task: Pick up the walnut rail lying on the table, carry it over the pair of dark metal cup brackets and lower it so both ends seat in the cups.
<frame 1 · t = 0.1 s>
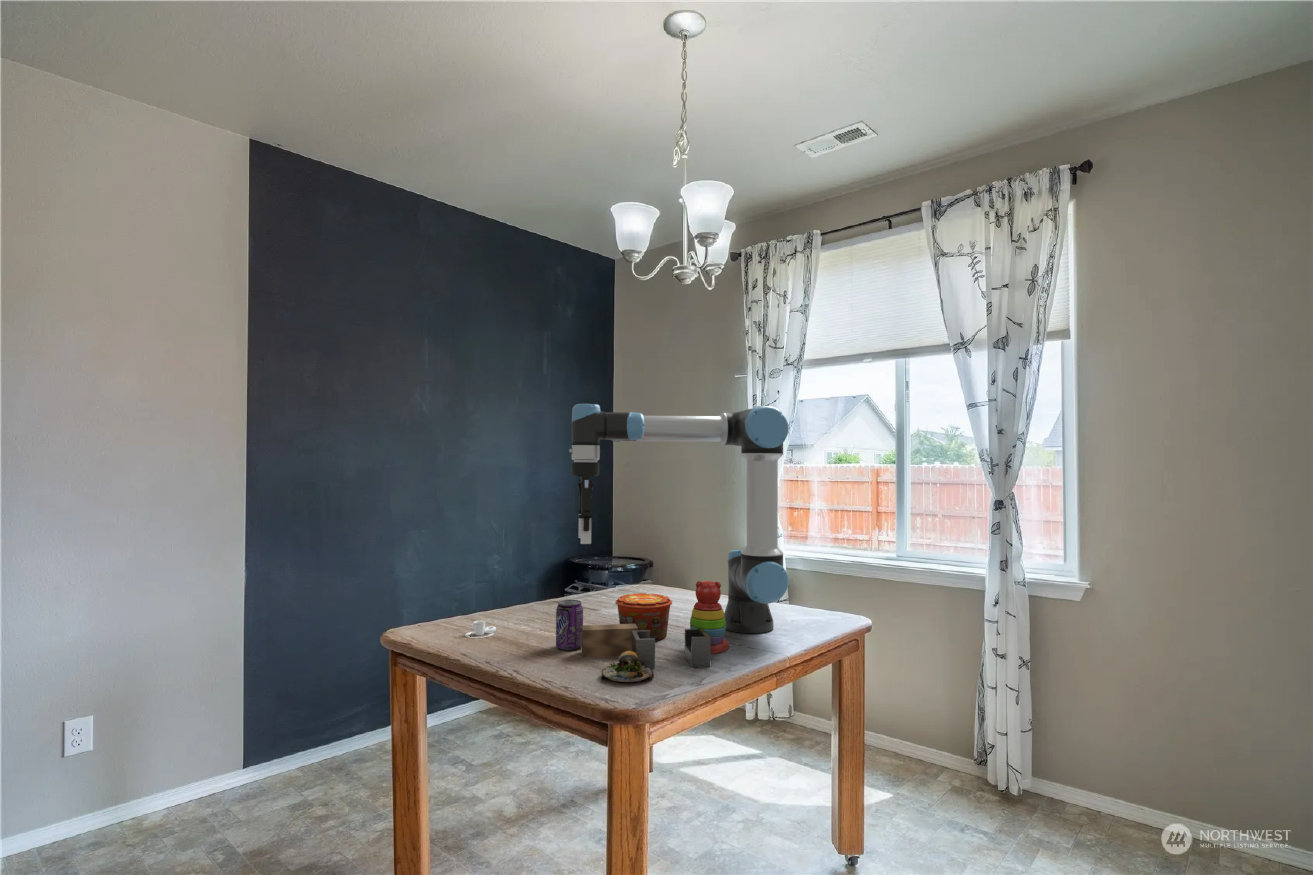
hand: (584, 540, 185), 28 cm above the table, tool pointing down, fingers open, 13 cm apart
cup bracket 1: (644, 663, 168), on the table
burger: (627, 679, 157), on the table
walnut rail: (609, 654, 176), on the table
beverage can: (569, 648, 182), on the table
stacking bear: (707, 649, 181), on the table
food container: (643, 637, 194), on the table
cup bracket 2: (695, 661, 170), on the table
teacup and saucer: (489, 637, 194), on the table
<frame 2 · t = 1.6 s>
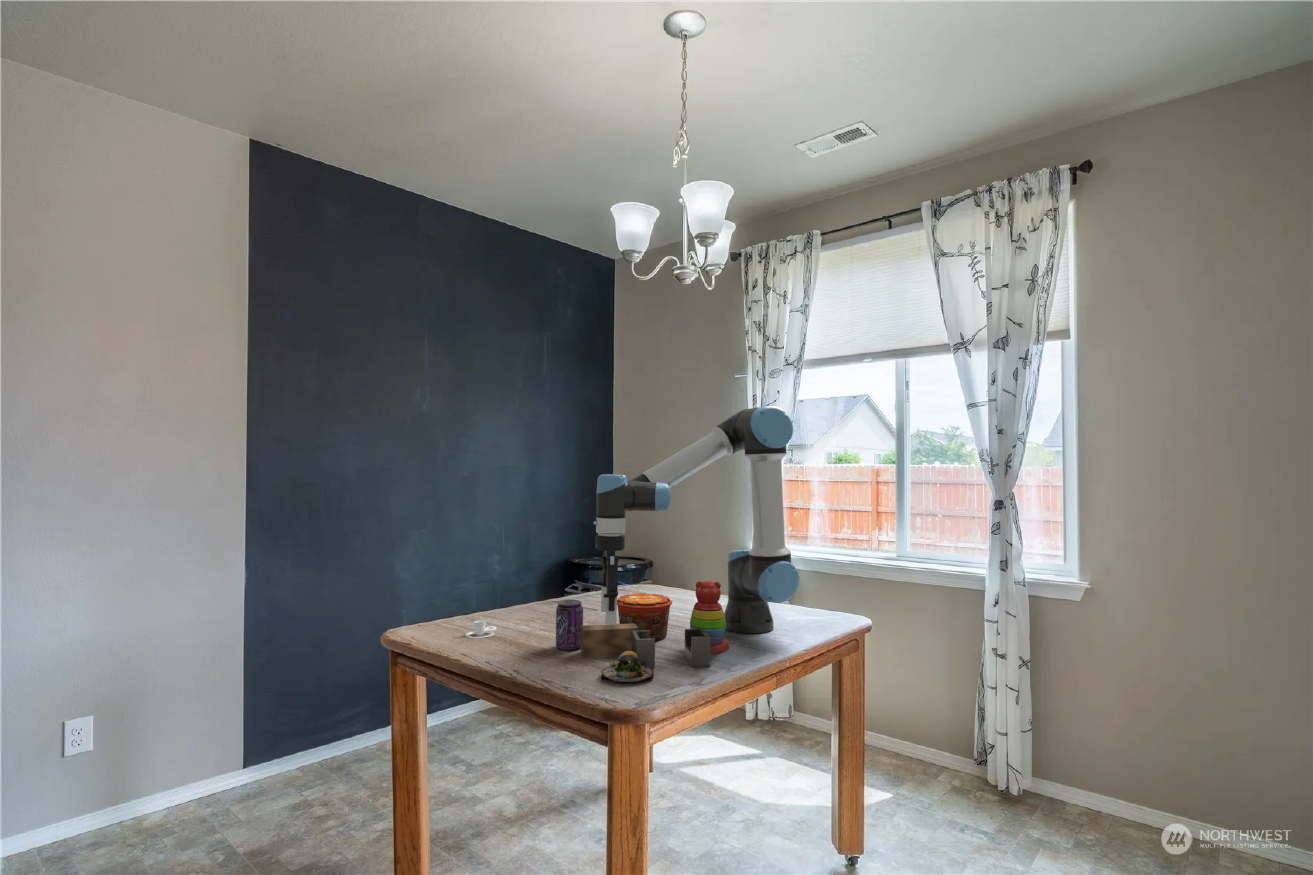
hand: (608, 617, 177), 9 cm above the table, tool pointing down, fingers open, 13 cm apart
nothing on the table moved.
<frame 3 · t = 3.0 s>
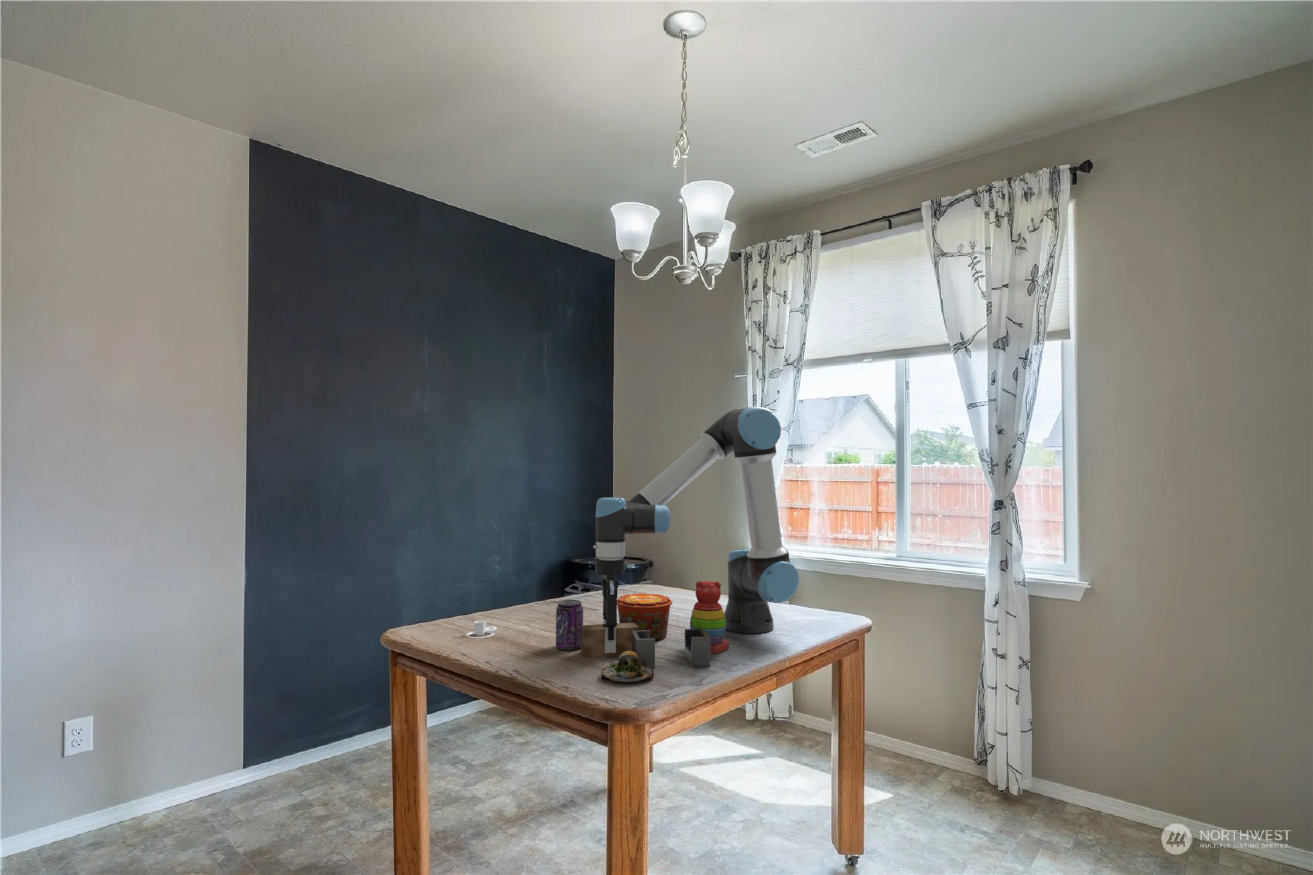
hand: (609, 649, 176), 1 cm above the table, tool pointing down, fingers closed on walnut rail, 5 cm apart
walnut rail: (609, 653, 176), on the table, touching gripper
everything else where it was.
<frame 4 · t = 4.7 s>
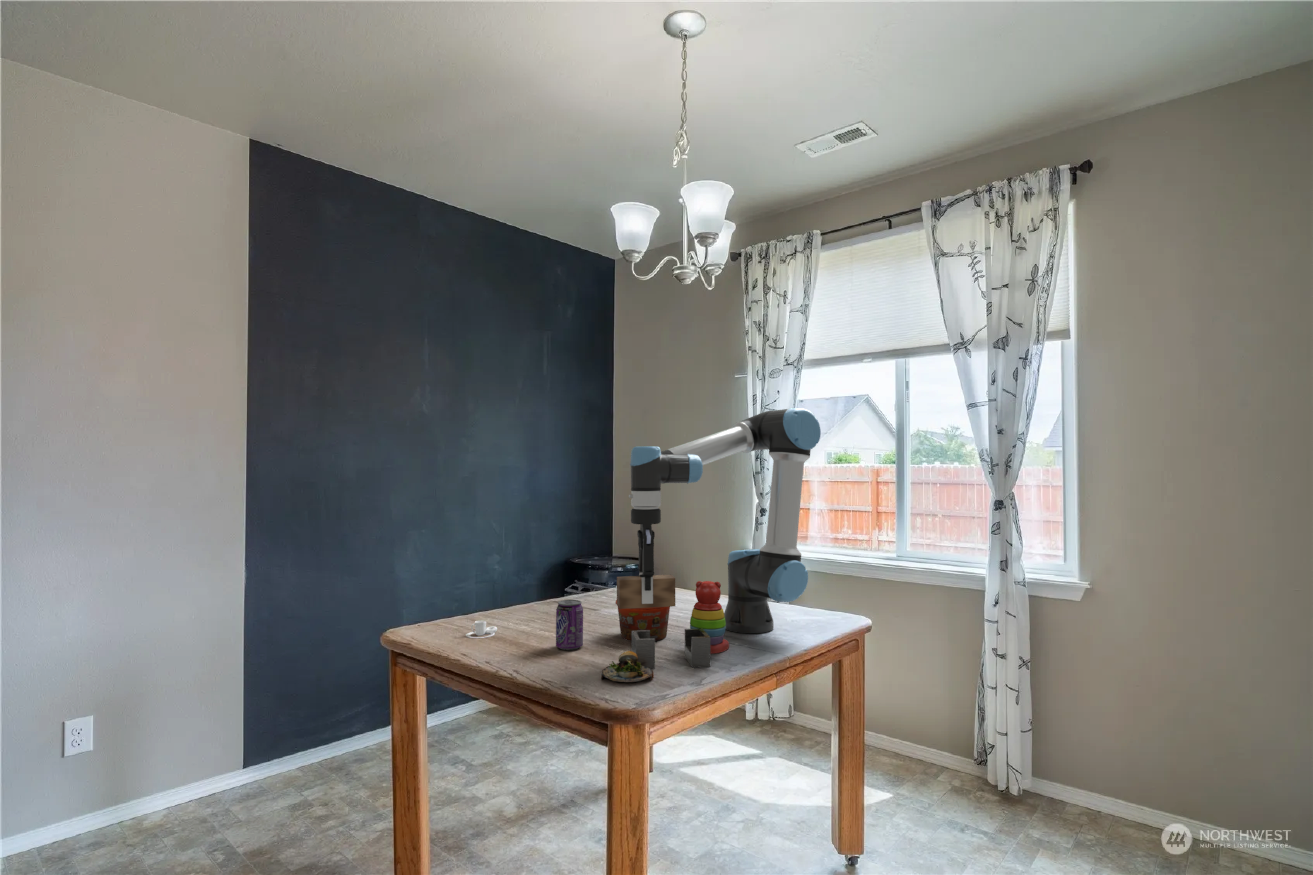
hand: (646, 600, 173), 14 cm above the table, tool pointing down, fingers closed on walnut rail, 5 cm apart
walnut rail: (645, 605, 173), point 13 cm above the table, touching gripper
everything else where it was.
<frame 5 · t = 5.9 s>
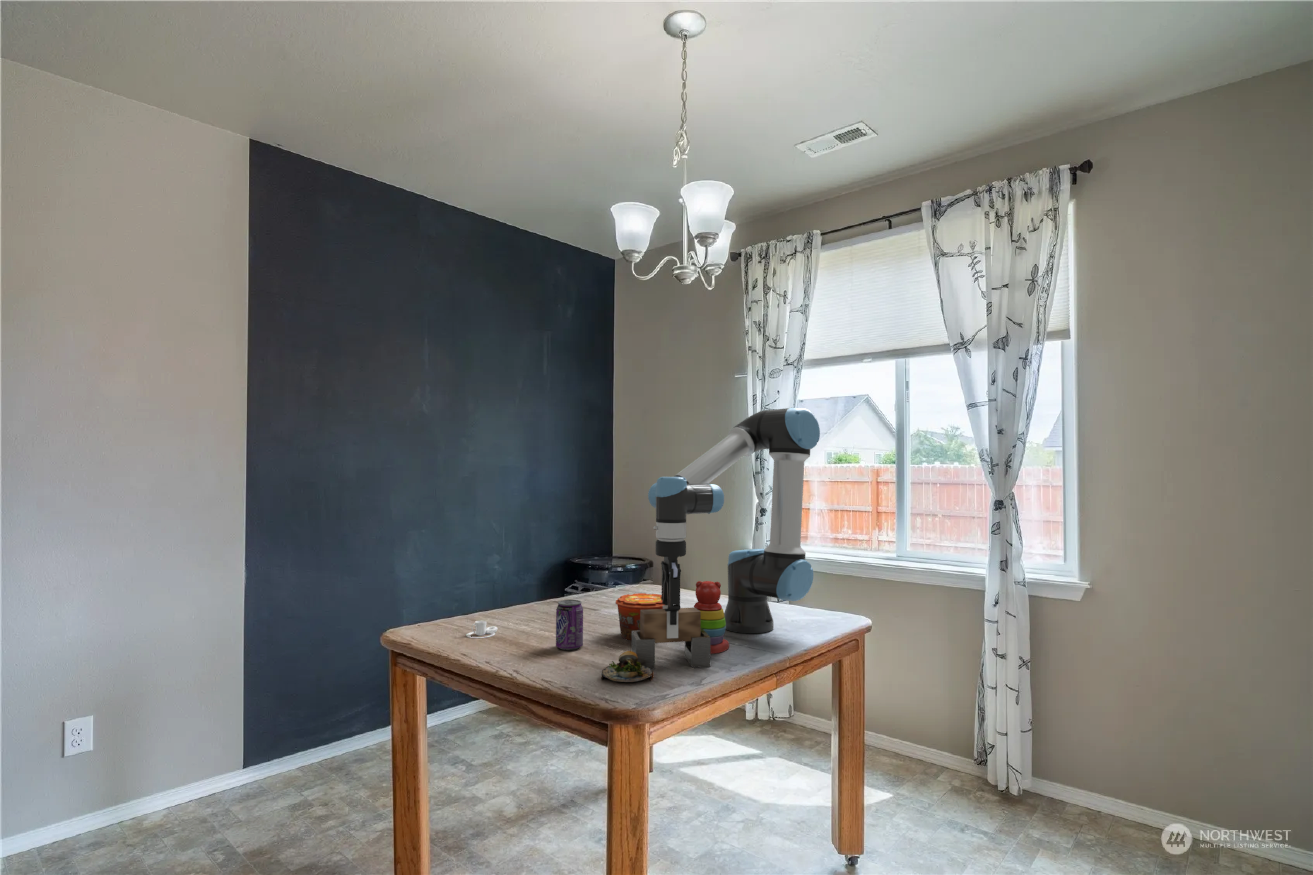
hand: (670, 634, 169), 7 cm above the table, tool pointing down, fingers closed on walnut rail, 5 cm apart
walnut rail: (670, 639, 169), point 6 cm above the table, touching gripper
everything else where it was.
when the fingers open (5 cm above the table, at t = 6.5 s): walnut rail stays where it is, resting on cup bracket 2, cup bracket 1.
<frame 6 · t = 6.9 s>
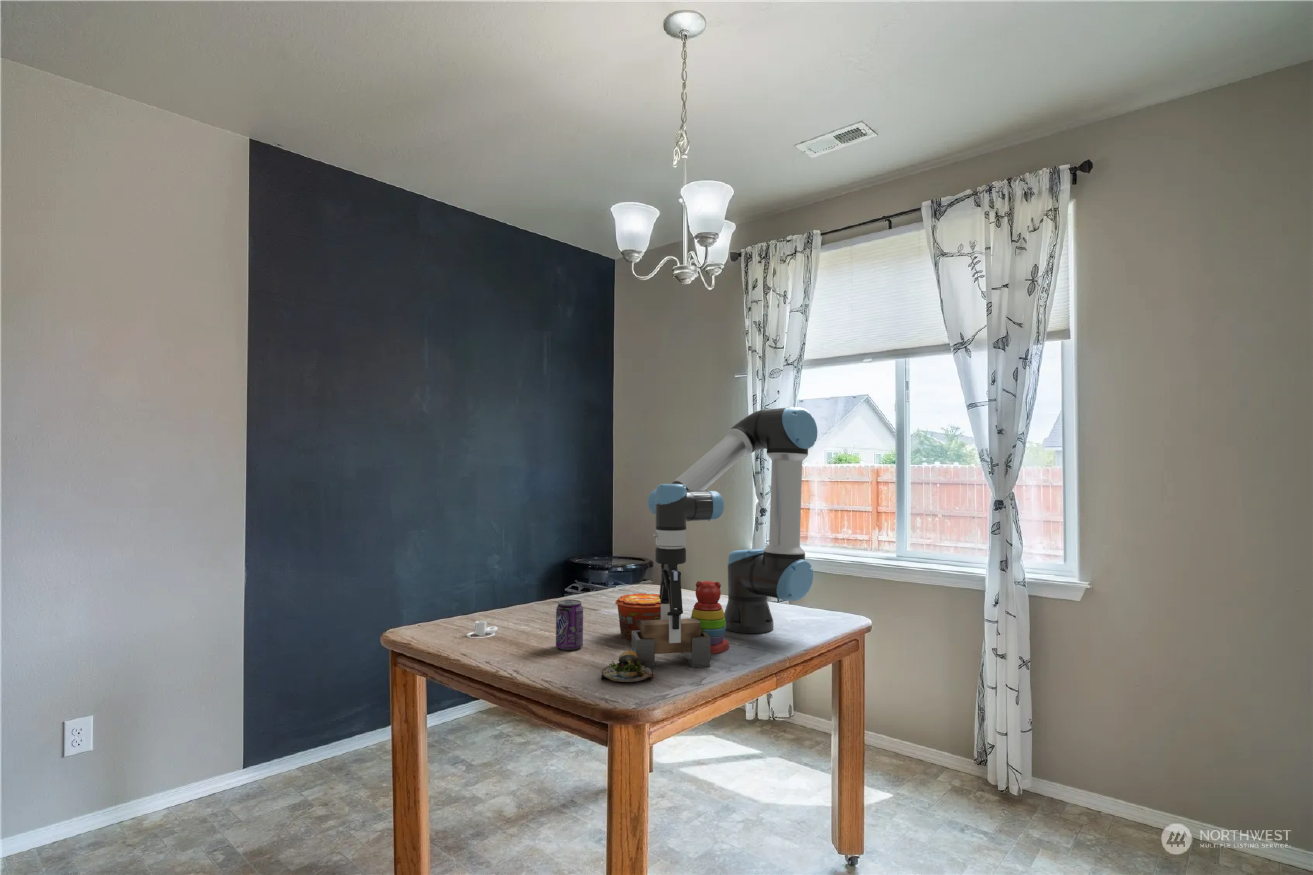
hand: (670, 636, 169), 6 cm above the table, tool pointing down, fingers open, 11 cm apart
walnut rail: (670, 650, 169), point 3 cm above the table, touching cup bracket 2, cup bracket 1
everything else where it was.
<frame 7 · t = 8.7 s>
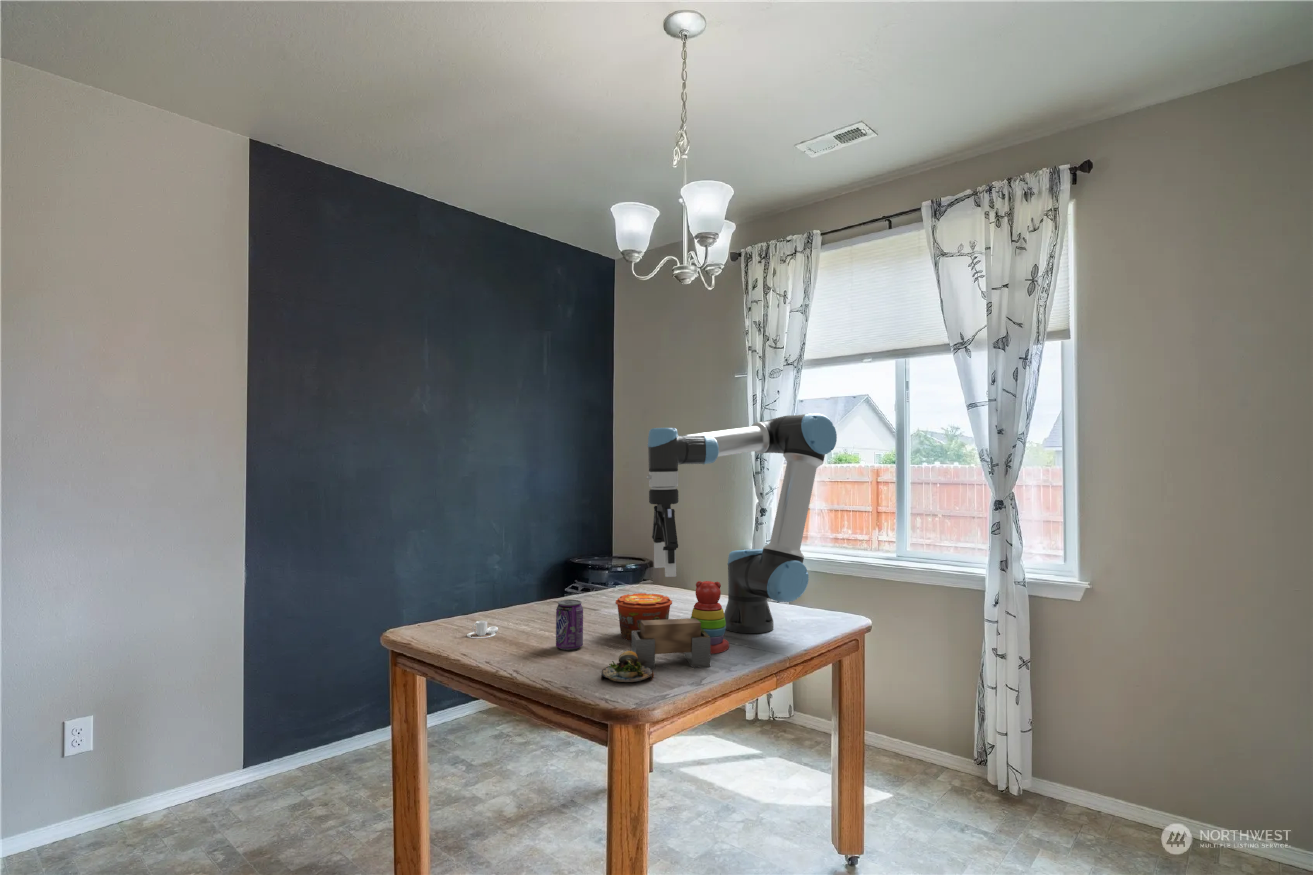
hand: (664, 571, 176), 21 cm above the table, tool pointing down, fingers open, 13 cm apart
nothing on the table moved.
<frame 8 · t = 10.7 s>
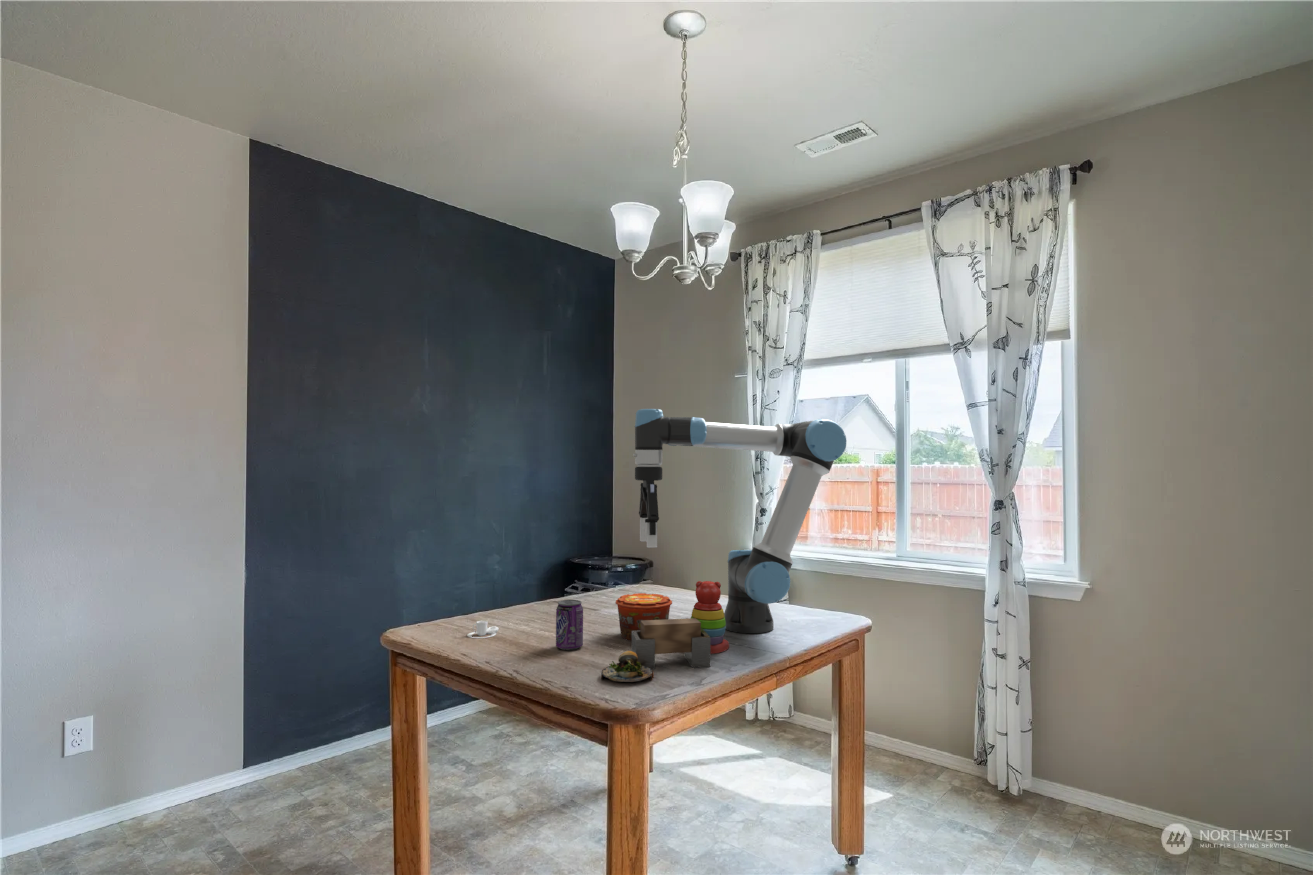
hand: (648, 544, 187), 27 cm above the table, tool pointing down, fingers open, 13 cm apart
nothing on the table moved.
at the end: walnut rail 0.0 cm from the target spot, point 3.0 cm above the table; walnut rail tilted 0°; the gripper is holding nothing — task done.
